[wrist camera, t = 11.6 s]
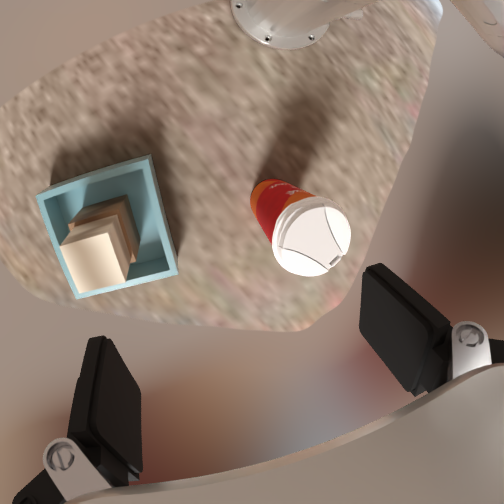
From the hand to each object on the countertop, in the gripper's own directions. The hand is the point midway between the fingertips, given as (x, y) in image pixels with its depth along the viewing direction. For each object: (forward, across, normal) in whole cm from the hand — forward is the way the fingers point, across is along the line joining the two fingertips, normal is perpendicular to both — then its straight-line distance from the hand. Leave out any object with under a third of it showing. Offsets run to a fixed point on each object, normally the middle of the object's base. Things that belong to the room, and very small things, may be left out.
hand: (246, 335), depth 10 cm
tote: (+28, +11, +3) cm, 31 cm away
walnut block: (+28, +11, +3) cm, 30 cm away
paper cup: (+28, -9, +5) cm, 30 cm away
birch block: (+22, +11, +3) cm, 24 cm away
